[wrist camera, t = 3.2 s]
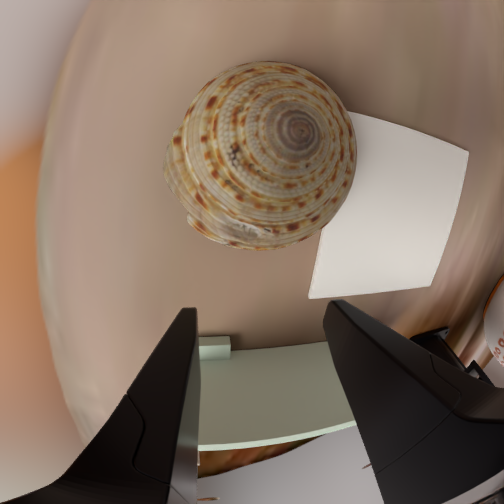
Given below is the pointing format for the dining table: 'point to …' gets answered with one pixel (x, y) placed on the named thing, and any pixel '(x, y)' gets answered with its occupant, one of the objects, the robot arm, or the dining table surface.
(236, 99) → the seashell
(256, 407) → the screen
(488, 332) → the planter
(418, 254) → the tile
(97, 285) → the dining table surface
